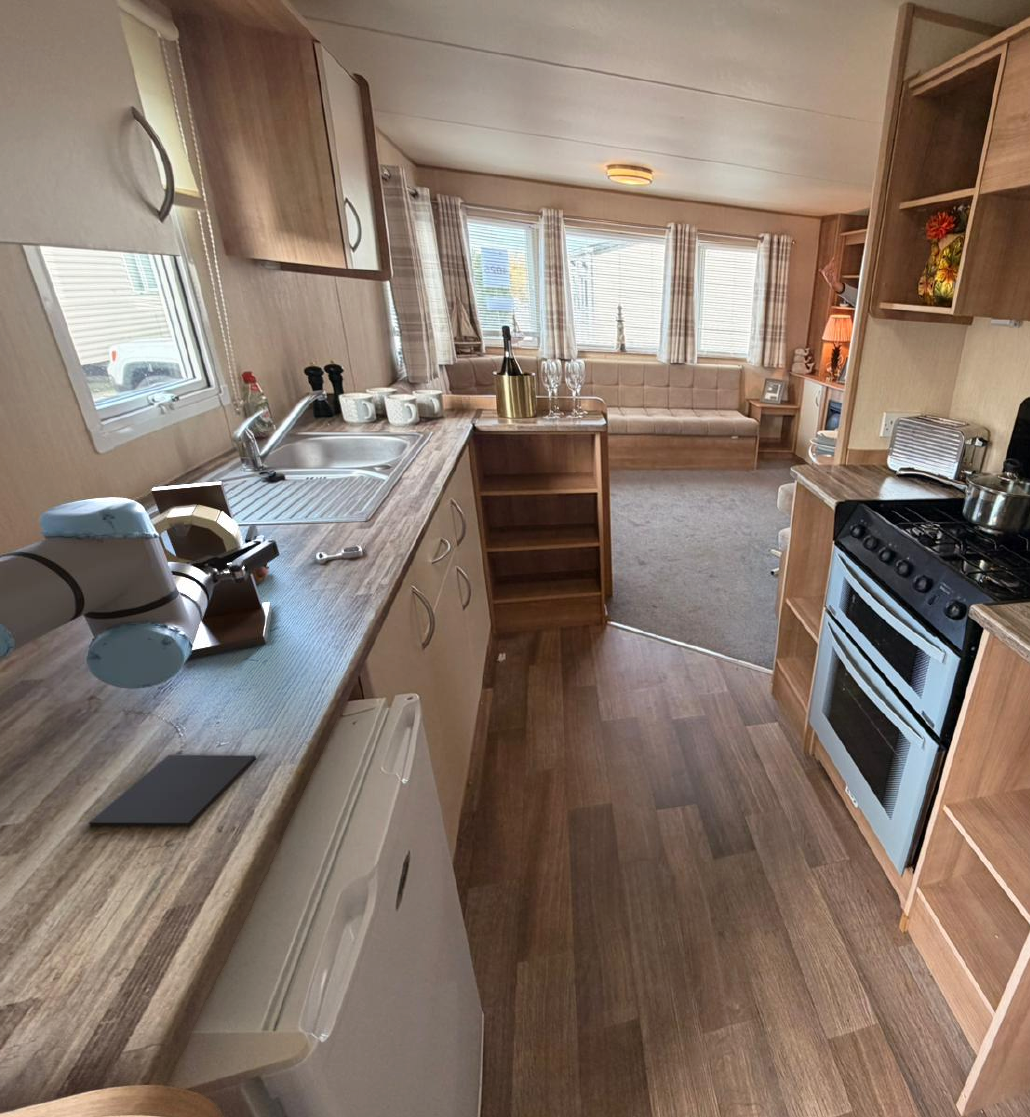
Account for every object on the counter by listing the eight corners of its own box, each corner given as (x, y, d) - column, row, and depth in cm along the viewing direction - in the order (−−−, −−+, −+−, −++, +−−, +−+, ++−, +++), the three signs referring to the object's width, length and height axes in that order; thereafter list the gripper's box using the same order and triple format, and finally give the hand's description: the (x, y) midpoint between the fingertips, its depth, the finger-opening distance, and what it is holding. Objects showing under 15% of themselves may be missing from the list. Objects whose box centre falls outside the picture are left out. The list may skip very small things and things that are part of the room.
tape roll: (163, 575, 89) (137, 510, 85) (250, 562, 94) (230, 500, 90) (155, 589, 85) (128, 521, 81) (247, 574, 90) (225, 510, 86)
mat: (90, 827, 62) (88, 822, 62) (170, 758, 71) (168, 754, 71) (190, 827, 63) (187, 823, 63) (256, 759, 72) (255, 755, 72)
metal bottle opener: (363, 557, 124) (362, 551, 123) (317, 564, 120) (315, 558, 119) (361, 549, 127) (360, 544, 127) (316, 557, 123) (315, 551, 122)
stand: (197, 623, 98) (144, 487, 88) (272, 609, 103) (230, 479, 94) (183, 661, 89) (122, 514, 79) (266, 644, 94) (218, 504, 84)
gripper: (35, 652, 68) (93, 578, 85) (299, 604, 81) (305, 548, 97) (5, 595, 65) (71, 530, 81) (284, 555, 78) (293, 505, 94)
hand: (198, 540), depth 89 cm, fingers open, 13 cm apart
